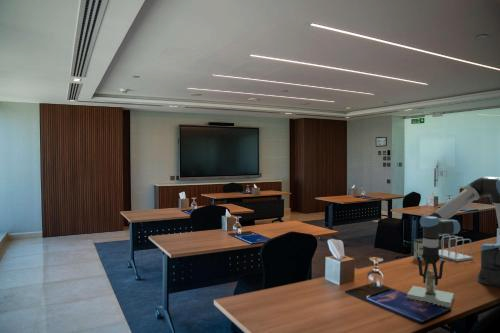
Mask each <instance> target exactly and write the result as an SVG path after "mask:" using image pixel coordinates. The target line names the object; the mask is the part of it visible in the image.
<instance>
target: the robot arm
mask: <svg viewBox="0 0 500 333" xmlns="http://www.w3.org/2000/svg"><path fill="white" fill-rule="evenodd" d="M484 197H485V198H486V197H489V198H490V202H491V203H492V204H493V206H494V208H495V212H496V213H495V214H496V219H497V224H498V225H497V226H498V230H499V232H500V176H488V175H487V176H486V175H485V176H482V177H479V178H477V179H474V180H473V181H471V182H470V183H469V184H467V185H466V186H464V187H463V190H462V191H460V192H459V193H458V194H456V195H455V196H454V197H452V198H451V199H450V200H448V201H447V202H445V203H444V204H443V205H441V206H440V207H439V208H438V209H436V210H434V212H432V213H430V214H429V215H428V214H425V215H424V214H423V215H422V216H421V217H420V219H419V224H420V226H421V227H422V239H423V245H424V246H423V254H422V256H418V257H417V260H416V261H417V262H418V271H419V274H418V275H419V276H420V277H422V282H423V284H425V285H424V286H425V287H424V288H425V290H427V276H426V271H427V270H429V264H431V265H432V269H433V271H434V272H435V273H434V276H435V277H434V279H433V292H435V291H436V290H437V289H436V286H438V285H439V280H442V278H443V270H444V264H445V262H446V261H445V260H446V259H443V258H441V257H439V250H440V247H439V246H440V236H439V235H445V234H449V235H456V234H459V232H460V231H461V224H460V222H459V221H458V220H456V219H450V218H452V217H453V216H454V215H456V214H457V213H458V212H460V211H462V209H465V207H467V206H468V205H469V204H471V203H472V202H473V201H477V200H479V199H481V198H484ZM422 258H423V259H424V261H422ZM438 261H439V262H438ZM422 262H425V263H424V270H423V263H422ZM437 263H440V264H439V272H438V269H437ZM476 279H477V282H479V283H481V284H482V285H483V284H484V285H486V286H491V287H500V243H483V244H481V247H480V270H479V272H478V275H477V278H476Z"/></svg>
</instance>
